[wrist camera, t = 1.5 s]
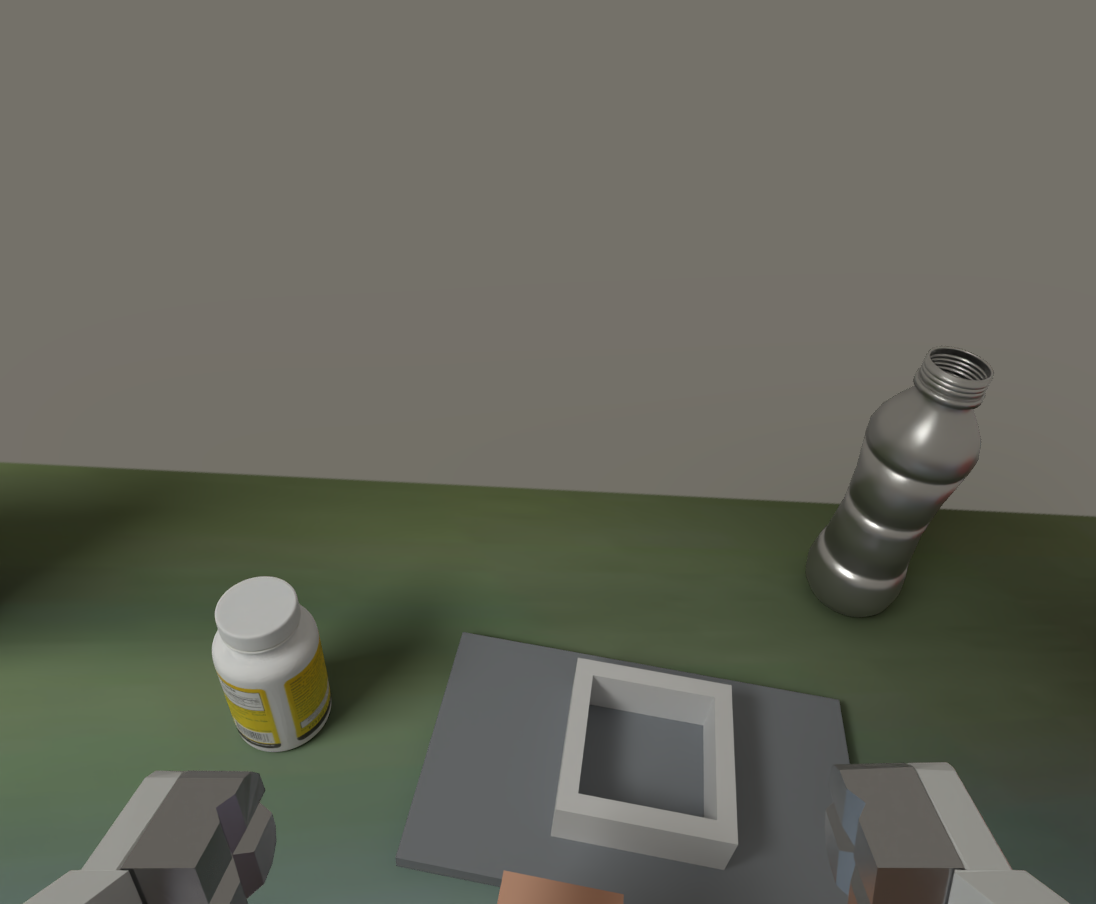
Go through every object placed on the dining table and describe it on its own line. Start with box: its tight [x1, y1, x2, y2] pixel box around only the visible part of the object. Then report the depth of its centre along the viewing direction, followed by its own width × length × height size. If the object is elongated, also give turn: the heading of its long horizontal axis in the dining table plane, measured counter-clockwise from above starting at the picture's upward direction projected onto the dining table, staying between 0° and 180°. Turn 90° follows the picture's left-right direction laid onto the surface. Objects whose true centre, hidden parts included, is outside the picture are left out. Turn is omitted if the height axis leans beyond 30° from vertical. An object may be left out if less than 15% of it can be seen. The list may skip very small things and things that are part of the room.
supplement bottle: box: [212, 576, 331, 752], centre depth 41 cm, size 5×5×10 cm
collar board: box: [396, 632, 850, 904], centre depth 41 cm, size 24×14×4 cm, turn 81°
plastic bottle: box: [806, 346, 994, 617], centre depth 48 cm, size 6×7×20 cm
